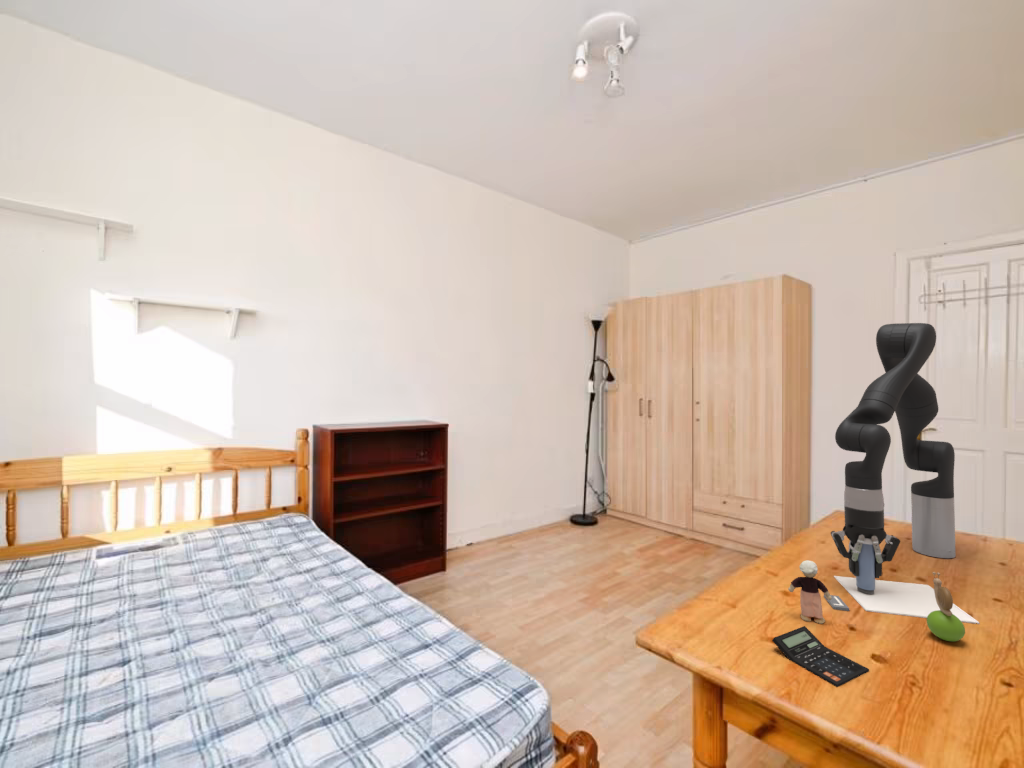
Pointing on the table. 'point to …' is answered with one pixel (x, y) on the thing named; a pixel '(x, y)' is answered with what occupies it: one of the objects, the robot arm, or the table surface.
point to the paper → (900, 599)
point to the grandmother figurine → (810, 592)
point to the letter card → (837, 603)
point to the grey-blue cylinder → (866, 568)
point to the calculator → (818, 657)
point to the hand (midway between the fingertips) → (865, 575)
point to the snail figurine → (944, 615)
